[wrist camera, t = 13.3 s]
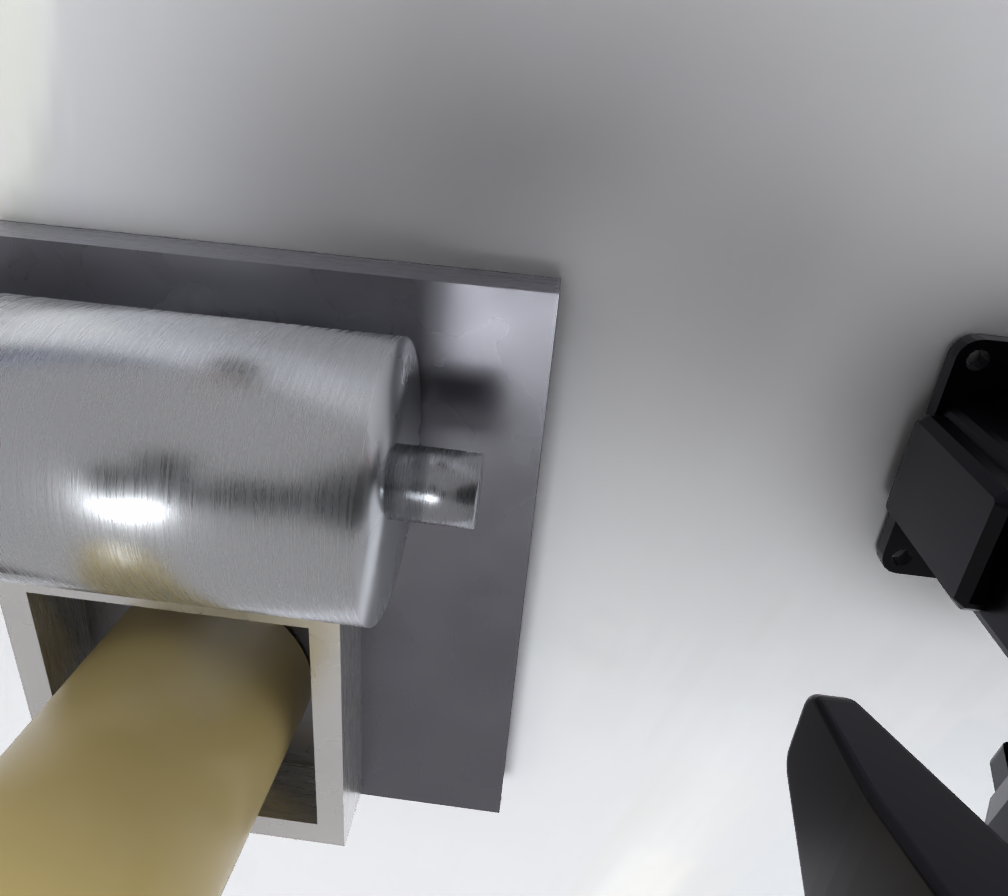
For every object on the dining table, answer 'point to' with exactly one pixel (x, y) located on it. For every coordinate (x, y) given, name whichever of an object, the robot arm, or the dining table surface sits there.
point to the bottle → (151, 759)
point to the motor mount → (282, 486)
